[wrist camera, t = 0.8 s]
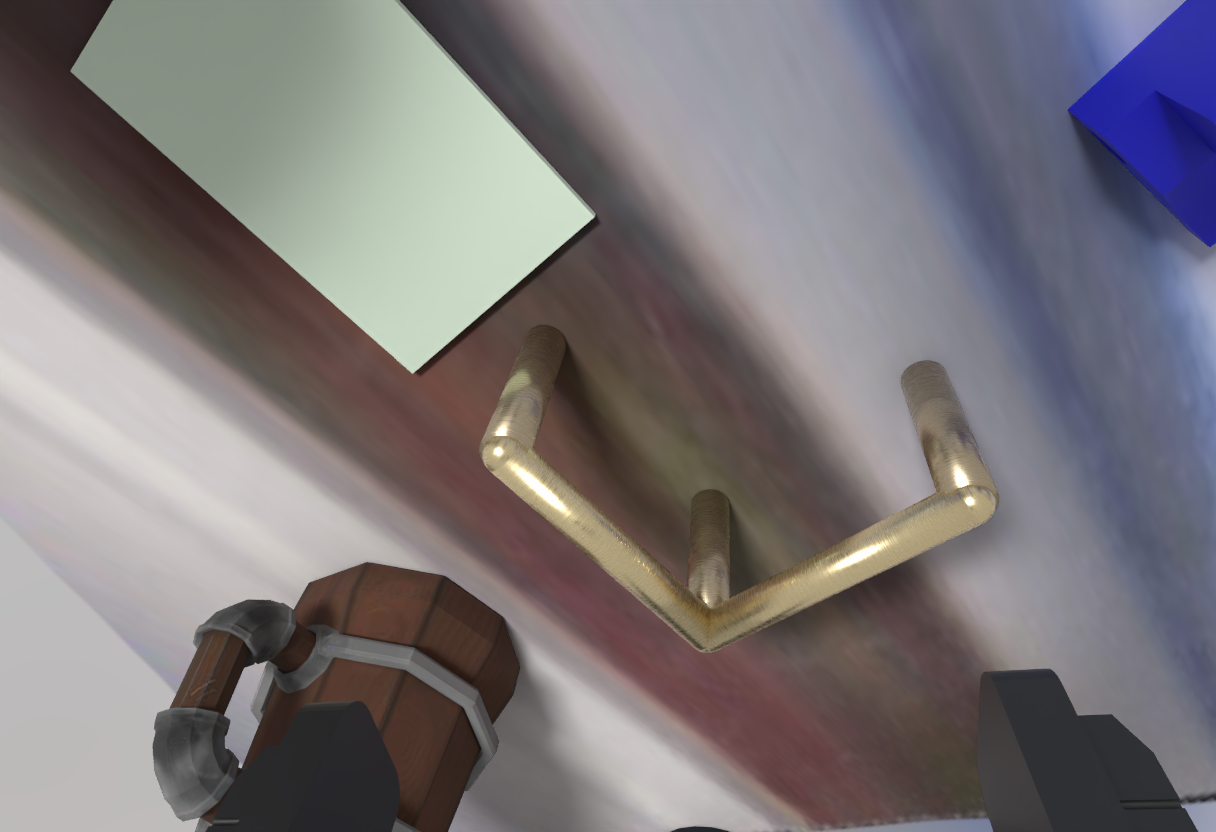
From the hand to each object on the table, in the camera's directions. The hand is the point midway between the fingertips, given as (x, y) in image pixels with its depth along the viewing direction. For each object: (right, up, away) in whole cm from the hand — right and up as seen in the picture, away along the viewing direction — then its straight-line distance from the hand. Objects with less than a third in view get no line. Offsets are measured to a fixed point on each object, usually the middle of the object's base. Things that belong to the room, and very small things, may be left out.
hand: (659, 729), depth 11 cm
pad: (-10, +13, +17) cm, 24 cm away
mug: (-12, -6, +31) cm, 34 cm away
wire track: (+5, +7, +19) cm, 21 cm away
